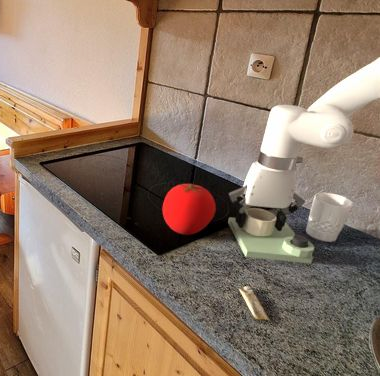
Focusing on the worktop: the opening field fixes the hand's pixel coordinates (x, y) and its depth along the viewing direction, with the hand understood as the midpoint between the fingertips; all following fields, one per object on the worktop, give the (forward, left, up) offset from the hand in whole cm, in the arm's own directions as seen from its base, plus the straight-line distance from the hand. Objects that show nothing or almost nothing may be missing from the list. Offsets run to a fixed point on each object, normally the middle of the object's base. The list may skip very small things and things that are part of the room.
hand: (258, 226), depth 99 cm
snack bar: (+9, +27, -3) cm, 28 cm away
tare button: (-6, +8, 0) cm, 10 cm away
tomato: (+17, 0, -3) cm, 17 cm away
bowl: (0, 0, -1) cm, 1 cm away
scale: (-2, +2, -3) cm, 4 cm away
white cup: (-17, -4, -3) cm, 18 cm away
